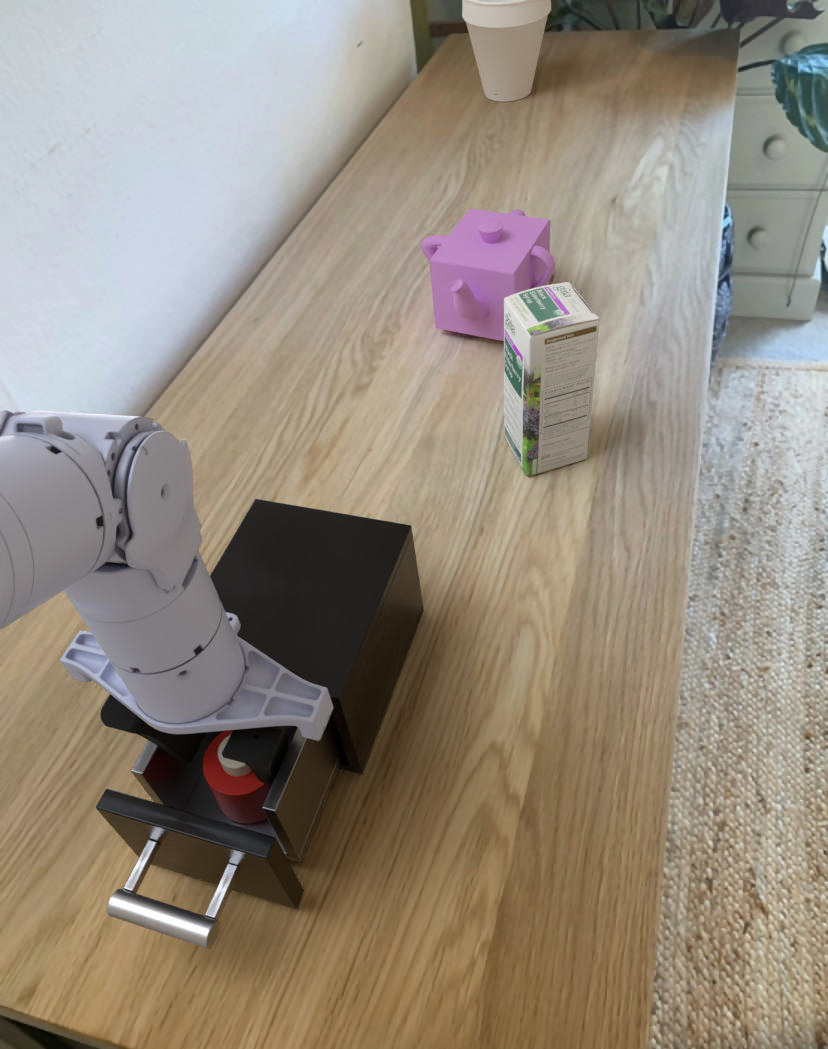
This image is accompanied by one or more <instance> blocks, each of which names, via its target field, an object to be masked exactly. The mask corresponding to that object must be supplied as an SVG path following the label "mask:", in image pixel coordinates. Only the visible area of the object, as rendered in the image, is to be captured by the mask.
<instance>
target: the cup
mask: <svg viewBox="0 0 828 1049" xmlns="http://www.w3.org/2000/svg"><path fill="white" fill-rule="evenodd" d="M461 1H462V2H461V3H462V5H461V17H462V19H463V20H464V22H465V24H466V27H467V31H468V35H469V40H470V43H471V47H472V52H473V55H474V59H475V62H476V66H477V71H478V74H479V78H480V81H481V86H482V89H483V90H482V91H483V93H484V96H485V97H486V98H487V99H488V100H490V101H494V102H501V103H502V102H505V103H506V102H514V101H519V100H523V99H525V98H526V97H528V96H529V95H530V94H531V92H532V88H533V84H534V79H535V74H536V70H537V66H538V61H539V56H540V52H541V48H542V42H543V39H544V35H545V34H544V33H545V29H546V25H547V21H548V16H549V14H550V13H551V11H552V0H461ZM530 87H531V88H530ZM495 94H497V95H495Z"/></svg>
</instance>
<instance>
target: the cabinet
mask: <svg viewBox="0 0 828 1049" xmlns="http://www.w3.org/2000/svg"><path fill="white" fill-rule="evenodd" d="M209 575H210V577H211V580H212V582H213V584H214V587H215V589H216V591H217V594H218V596H219V598H220V601H221V603H222V605H223V608H224V610H225V612H228V613H232V614H235V615H237V617H238V619H239V622H240V624H241V626H240V630H239V632H238V634H237V636H238V637H240V638H241V639H243V640H244V641H246V642H247V643H249V644H250V645H252V646H253V647H255V648H256V649H258V650H259V651H261V652H262V653H264V654H265V655H267V656H268V657H270V658H271V659H272V660H274V661H275V662H277V663H278V664H280V665H281V666H283V667H284V668H288V669H292V670H295V671H298V672H299V673H300V674H301V675H302V676H303V679H304V680H306V681H308V682H310V683H313V684H316V685H320V686H323V687H327V689H328V692H329V695H330V698H331V701H332V704H333V710H332V714H333V717H334V720H335V723H336V726H337V729H338V732H339V735H340V738H341V742H342V745H343V748H344V751H345V753H344V755H343V758H342V761H341V763H340V766H339V768H338V770H343V771H345V772H346V771H347V772H350V773H355V774H357V775H362V776H363V775H364V773H365V770H366V768H367V764H368V762H369V759H370V757H371V753H372V751H373V748H374V746H375V743H376V740H377V737H378V735H379V733H380V730H381V727H382V724H383V721H384V718H385V716H386V713H387V711H388V709H389V706H390V702H391V700H392V698H393V695H394V692H395V689H396V687H397V684H398V682H399V679H400V676H401V674H402V671H403V667H404V666H405V662H406V660H407V657H408V654H409V652H410V649H411V647H412V644H413V642H414V639H415V635H416V633H417V630H418V628H419V626H420V622H421V620H422V617H423V614H424V612H425V610H424V600H423V595H422V588H421V582H420V574H419V569H418V561H417V553H416V548H415V541H414V533H413V528H412V525H411V524H405V523H401V522H394V521H388V520H383V519H377V518H371V517H366V516H360V515H353V514H347V513H341V512H335V511H331V510H326V509H325V510H324V509H319V508H313V507H306V506H301V505H295V504H289V503H285V502H284V503H283V502H277V501H272V500H267V499H260V498H255V499H254V500H253V502H252V504H251V505H250V506H249V508H248V510H247V512H246V513H245V516H244V517H243V519H242V521H241V522H240V523H239V526H238V528H237V529H236V531H235V532H234V534H233V536H232V537H231V539H230V541H229V542H228V544H227V546H226V547H225V549H224V551H223V552H222V555H221V556H220V558H219V559H218V561H217V563H216V565H215V566H214V567H213V570H212V572H211V573H210V574H209Z"/></svg>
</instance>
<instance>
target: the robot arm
mask: <svg viewBox="0 0 828 1049" xmlns="http://www.w3.org/2000/svg"><path fill="white" fill-rule="evenodd" d="M202 526H203V525H202V523H201V521H200V519H199V516H198V513H197V509H196V506H195V500H194V468H193V460H192V455H191V451H190V447H189V444H188V441H187V439H185V438H182V439H181V442H180V440H179V439H178V438H177V436H176V435H174V434H173V433H171V432H170V431H167V430H165V428H163V426H162V425H161V424H160V422H158V421H157V422H155V421H154V418H151V417H149V416H138V415H137V416H135V415H121V414H120V415H119V414H103V413H86V412H84V413H83V412H69V411H68V412H67V411H66V412H65V411H51V410H30V411H10V410H8V409H2V410H0V632H1V631H2V630H5V629H6V628H7V627H8V626H10V625H11V624H13V623H15V622H16V621H18V620H19V619H21V618H22V617H24V616H26V615H28V614H29V613H30V612H32V611H34V610H35V609H37V608H38V607H39V606H41V605H43V604H45V603H46V602H47V601H49V600H51V599H52V598H54V597H57V595H59V594H60V593H63V592H64V594H65V595H66V597H67V598H68V600H69V601H70V602H71V605H72V606H73V607H74V608H75V610H76V611H77V613H78V614H79V616H80V618H81V619H82V620H83V623H84V624H85V625H86V627H87V628H88V630H89V631H87V630H82V629H81V630H79V631H78V632H77V634H76V635H75V636H74V638H73V639H72V640H71V643H70V644H69V645H68V647H67V648H66V650H65V651H64V653H63V654H62V656H61V657H60V659H59V662H60V663H61V664H62V666H63V668H65V669H66V671H67V672H68V673H69V675H70V676H71V677H72V679H73V680H75V681H77V682H78V681H79V682H83V683H89V682H91V681H93V682H94V683H95V684H97V685H98V686H99V687H100V688H102V689H103V690H104V691H105V692H107V693H108V694H109V695H108V696H107V698H106V700H105V701H104V704H103V705H102V706H101V709H100V712H99V718H100V720H101V723H103V725H104V726H105V727H108V728H111V729H115V730H119V731H122V732H126V733H130V734H134V735H135V734H136V735H138V736H139V737H141V738H143V739H146V740H147V741H148V740H149V741H151V742H152V743H154V744H155V745H157V746H158V747H160V748H161V749H163V750H164V751H166V752H167V753H169V754H170V755H172V756H173V757H175V758H177V759H178V760H181V761H184V762H188V763H191V762H192V760H193V758H194V756H195V754H196V752H197V750H198V748H199V746H200V744H201V742H202V740H203V738H204V736H205V735H206V732H214V731H226V730H233V731H232V733H231V735H230V737H229V739H228V741H227V743H226V745H225V747H224V750H223V752H222V756H223V758H227V759H231V760H235V761H238V762H242V763H245V764H246V765H247V766H248V767H249V768H250V769H251V770H252V772H253V773H254V774H255V776H256V777H257V778H258V780H260V781H261V782H263V783H265V784H269V785H272V784H273V782H274V780H275V777H276V775H277V773H278V771H279V768H280V766H281V764H282V761H283V759H284V757H285V755H286V752H287V750H288V736H289V728H290V726H297V727H298V728H299V730H300V732H301V734H302V736H303V737H305V738H309V739H313V740H317V741H319V740H320V739H321V736H322V734H323V732H324V730H325V727H326V725H327V723H328V720H329V717H330V715H331V713H332V710H333V704H332V701H331V698H330V695H329V692H328V689H327V687H323V686H320V685H316V684H313V683H310V682H308V681H306V680H304V679H303V676H302V675H301V674H300V673H299V672H298V671H295V670H292V669H288V668H284V667H283V666H281V665H280V664H278V663H277V662H275V661H274V660H272V659H271V658H270V657H268V656H267V655H265V654H264V653H262V652H261V651H259V650H258V649H256V648H255V647H253V646H252V645H250V644H249V643H247V642H246V641H244V640H243V639H241V638H240V637H238V636H237V634H238V632H239V630H240V626H241V624H240V622H239V619H238V617H237V615H235V614H232V613H228V612H225V610H224V608H223V605H222V603H221V601H220V598H219V596H218V594H217V591H216V589H215V587H214V584H213V582H212V580H211V577H210V575H211V574H210V573H209V571H208V568H207V566H206V564H205V562H204V559H203V557H202V555H201V552H200V551H199V550H200V547H201V544H202V541H203V536H202V533H201V529H202Z"/></svg>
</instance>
